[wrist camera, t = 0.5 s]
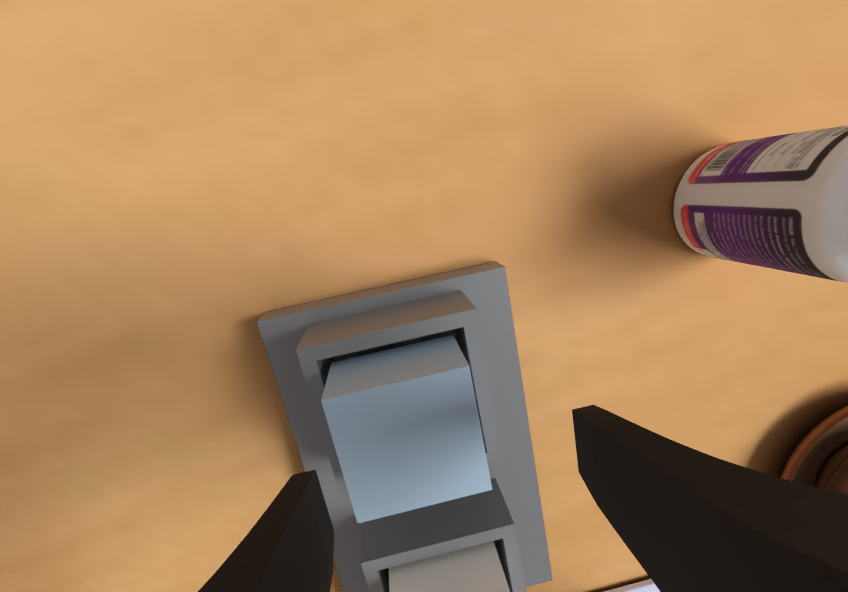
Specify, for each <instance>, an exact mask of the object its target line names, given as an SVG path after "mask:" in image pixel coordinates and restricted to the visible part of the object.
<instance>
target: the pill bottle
mask: <svg viewBox="0 0 848 592" xmlns="http://www.w3.org/2000/svg"><path fill="white" fill-rule="evenodd" d="M674 220H675V225H676V228H677V231H678V233H679V235H680V236H681V238H682V240H683V241H684V242H685V243H686V244H687V245H688V246H689V247H690V248H691V249H693V250H695V251H696V252H698V253H700V254H703V255H706V256H710V257H714V258H719V259H724V260H729V261H735V262H740V263H746V264H751V265H757V266H762V267H767V268H773V269H778V270H783V271H788V272H793V273H799V274H804V275H809V276H814V277H820V278H825V279H830V280H836V281H841V282H848V126H841V127H835V128H828V129H820V130H814V131H806V132H800V133H793V134H786V135H779V136H772V137H766V138H759V139H752V140H745V141H739V142H734V143H729V144H724V145H721V146H718V147H716V148H713V149H711V150H709V151H708V152H706V153H705V154H703V155H702V156H700V157H699V158H698V159H697V160H696V161H694V163H693V164H692V165H691V166H690V167H689V168H688V169H687V171H686V172H685V174H684V176H683V177H682V179H681V181H680V183H679V186H678V188H677V191H676V194H675V199H674Z"/></svg>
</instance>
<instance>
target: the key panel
mask: <svg viewBox="0 0 848 592" xmlns="http://www.w3.org/2000/svg"><path fill="white" fill-rule="evenodd" d="M257 325H258V328H259V331H260V334H261V337H262V340H263V343H264V347H265V350H266V353H267V356H268V359H269V362H270V365H271V368H272V371H273V374H274V377H275V380H276V383H277V387H278V390H279V393H280V396H281V399H282V402H283V405H284V408H285V411H286V414H287V417H288V420H289V423H290V426H291V430H292V433H293V436H294V439H295V442H296V445H297V448H298V451H299V454H300V457H301V460H302V463H303V466H304V470H305V472H307V471H311V470H316V472H317V476H318V479H319V482H320V486H321V489H322V492H323V496H324V499H325V502H326V505H327V509H328V512H329V515H330V519H331V522H332V525H333V529H334V555H333V559H334V562H335V565H336V568H337V571H338V574H339V577H340V580H341V583H342V586H343V590H344V592H389V568H390V567H394V566H398V565H402V564H405V563H409V562H413V561H417V560H421V559H425V558H429V557H433V556H436V555H440V554H444V553H448V552H452V551H456V550H460V549H464V548H467V547H471V546H475V545H479V544H483V543H487V542H491V541H494V544H495V547H496V550H497V553H498V556H499V559H500V562H501V565H502V568H503V571H504V574H505V578H506V581H507V584H508V587H509V590H510V592H526V587H528V586H532V585H536V584H540V583H543V582H547V581H551V580H552V573H551V567H550V560H549V553H548V547H547V540H546V534H545V527H544V521H543V514H542V507H541V501H540V494H539V488H538V481H537V475H536V468H535V462H534V455H533V448H532V442H531V435H530V429H529V422H528V416H527V409H526V402H525V396H524V389H523V383H522V376H521V370H520V363H519V357H518V350H517V343H516V337H515V330H514V324H513V317H512V311H511V304H510V297H509V291H508V284H507V278H506V271H505V267H504V266H503V265H501V264H499V263H498V262H496V261H495V262H490V263H486V264H481V265H477V266H472V267H468V268H463V269H459V270H454V271H450V272H445V273H440V274H436V275H431V276H427V277H422V278H418V279H413V280H409V281H404V282H400V283H395V284H391V285H386V286H382V287H377V288H373V289H368V290H364V291H359V292H355V293H350V294H346V295H341V296H337V297H332V298H327V299H323V300H318V301H314V302H309V303H305V304H300V305H296V306H291V307H287V308H282V309H278V310H273V311H269V312H265V313H264V315H263V316H262V317H261V318H260V319H259V320H258V321H257ZM450 335H453V336H454V338H455V340H456V341H457V343H458V345H459V347H460V349H461V351H462V353H463V355H464V357H465V359H466V361H467V362H468V364H469V367H470V372H471V378H472V383H473V388H474V394H475V399H476V404H477V410H478V415H479V420H480V426H481V431H482V436H483V442H484V447H485V452H486V458H487V463H488V468H489V474H490V479H491V484H492V490H489V491H485V492H481V493H477V494H473V495H469V496H465V497H461V498H457V499H454V500H450V501H446V502H442V503H438V504H434V505H430V506H426V507H422V508H418V509H414V510H410V511H406V512H402V513H398V514H394V515H390V516H386V517H382V518H378V519H374V520H370V521H366V522H362V523H357V520H356V517H355V513H354V510H353V506H352V503H351V500H350V496H349V493H348V490H347V486H346V483H345V480H344V476H343V473H342V469H341V466H340V463H339V459H338V456H337V453H336V449H335V446H334V443H333V439H332V436H331V432H330V429H329V426H328V422H327V419H326V416H325V412H324V409H323V406H322V402H321V399H322V395H323V392H324V388H325V384H326V381H327V377H328V373H329V370H330V366H331V363H332V362H337V361H341V360H345V359H350V358H354V357H358V356H363V355H367V354H371V353H376V352H380V351H384V350H389V349H393V348H397V347H402V346H406V345H411V344H415V343H419V342H424V341H428V340H432V339H437V338H441V337H445V336H450Z"/></svg>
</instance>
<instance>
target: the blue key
mask: <svg viewBox="0 0 848 592" xmlns="http://www.w3.org/2000/svg"><path fill="white" fill-rule="evenodd" d="M321 402H322V406H323V409H324V412H325V416H326V419H327V422H328V426H329V429H330V432H331V436H332V439H333V443H334V446H335V449H336V453H337V456H338V459H339V463H340V466H341V469H342V473H343V476H344V480H345V483H346V486H347V490H348V493H349V496H350V500H351V503H352V506H353V510H354V513H355V517H356V520H357V523H362V522H366V521H370V520H374V519H378V518H382V517H386V516H390V515H394V514H398V513H402V512H406V511H410V510H414V509H418V508H422V507H426V506H430V505H434V504H438V503H442V502H446V501H450V500H454V499H457V498H461V497H465V496H469V495H473V494H477V493H481V492H485V491H489V490H492V484H491V479H490V474H489V468H488V463H487V458H486V452H485V447H484V442H483V436H482V431H481V426H480V420H479V415H478V410H477V404H476V399H475V394H474V388H473V383H472V378H471V372H470V367H469V364H468V362H467V361H466V359H465V357H464V355H463V353H462V351H461V349H460V347H459V345H458V343H457V341H456V340H455V338H454V336H453V335H450V336H445V337H441V338H437V339H432V340H428V341H424V342H419V343H415V344H411V345H406V346H402V347H397V348H393V349H389V350H384V351H380V352H376V353H371V354H367V355H363V356H358V357H354V358H350V359H345V360H341V361H337V362H332V363H331V366H330V370H329V373H328V377H327V381H326V384H325V388H324V392H323V395H322V399H321Z"/></svg>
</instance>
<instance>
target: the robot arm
mask: <svg viewBox="0 0 848 592" xmlns="http://www.w3.org/2000/svg"><path fill="white" fill-rule="evenodd" d="M572 413H573V422H574V432H575V441H576V450H577V459H578V469H579V473H580V475H581V477H582V479H583V480H584V482H585V484H586V486H587V488H588V490H589V491H590V493H591V495H592V497H593V498H594V500H595V502H596V503H597V505H598V507H599V508H600V509H601V511H602V512H603V514H604V515H605V516H606V518H607V519H608V521H609V522H610V523H611V525H612V526H613V528H614V529H615V530H616V532H617V533H618V534H619V536H620V537H621V539H622V540H623V541H624V543H625V544H626V545H627V547H628V548H629V549H630V551H631V552H632V554H633V555H634V556H635V558H636V559H637V560H638V562H639V563H640V564H641V566H642V567H643V568H644V570H645V571H646V573H647V574H648V575H649V577H650V578H651V579H648V580H644V581H641V582H637V583H633V584H630V585H626V586H622V587H618V588H615V589H611V590H607V591H603V592H848V494H844V493H840V492H835V491H831V490H826V489H822V488H817V487H813V486H809V485H805V484H802V483H798V482H794V481H790V480H786V479H782V478H778V477H775V476H771V475H768V474H764V473H761V472H758V471H754V470H751V469H748V468H745V467H742V466H739V465H736V464H733V463H730V462H727V461H724V460H721V459H718V458H715V457H713V456H710V455H707V454H705V453H702V452H700V451H697V450H694V449H692V448H689V447H687V446H684V445H682V444H679V443H677V442H675V441H672V440H670V439H668V438H665V437H663V436H661V435H658V434H656V433H654V432H652V431H650V430H647V429H645V428H643V427H641V426H639V425H636V424H634V423H632V422H630V421H628V420H626V419H624V418H622V417H619V416H617V415H615V414H613V413H611V412H609V411H606V410H604V409H602V408H600V407H597V406H595V405H590V406H586V407H582V408H578V409H573V410H572ZM333 555H334V529H333V525H332V522H331V519H330V515H329V512H328V509H327V505H326V502H325V499H324V496H323V492H322V489H321V486H320V482H319V479H318V476H317V472H316V470H311V471H307V472H303V473H298V474H294V475H293V476H292V477H291V478H290V479H289V481H288V482H287V483H286V485H285V486H284V487H283V488H282V490H281V491H280V493H279V494H278V495H277V497H276V498H275V499H274V501H273V502H272V503H271V505H270V506H269V507H268V509H267V510H266V511H265V512H264V514H263V515H262V516H261V518H260V519H259V520H258V522H257V523H256V524H255V525H254V527H253V528H252V529H251V531H250V532H249V533H248V534H247V536H246V537H245V538H244V539H243V541H242V542H241V543H240V544H239V545H238V546H237V548H236V549H235V550H234V551H233V552H232V554H231V555H230V556H229V557H228V558H227V560H226V561H225V562H224V563H223V564H222V566H221V567H220V568H219V569H218V570H217V571H216V572H215V574H214V575H213V576H212V577H211V578H210V579H209V580H208V581H207V582H206V583H205V585H204V586H203V587H202V588H201V589H200V590H199V591H198V592H330V587H331V580H332V573H333Z"/></svg>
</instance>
